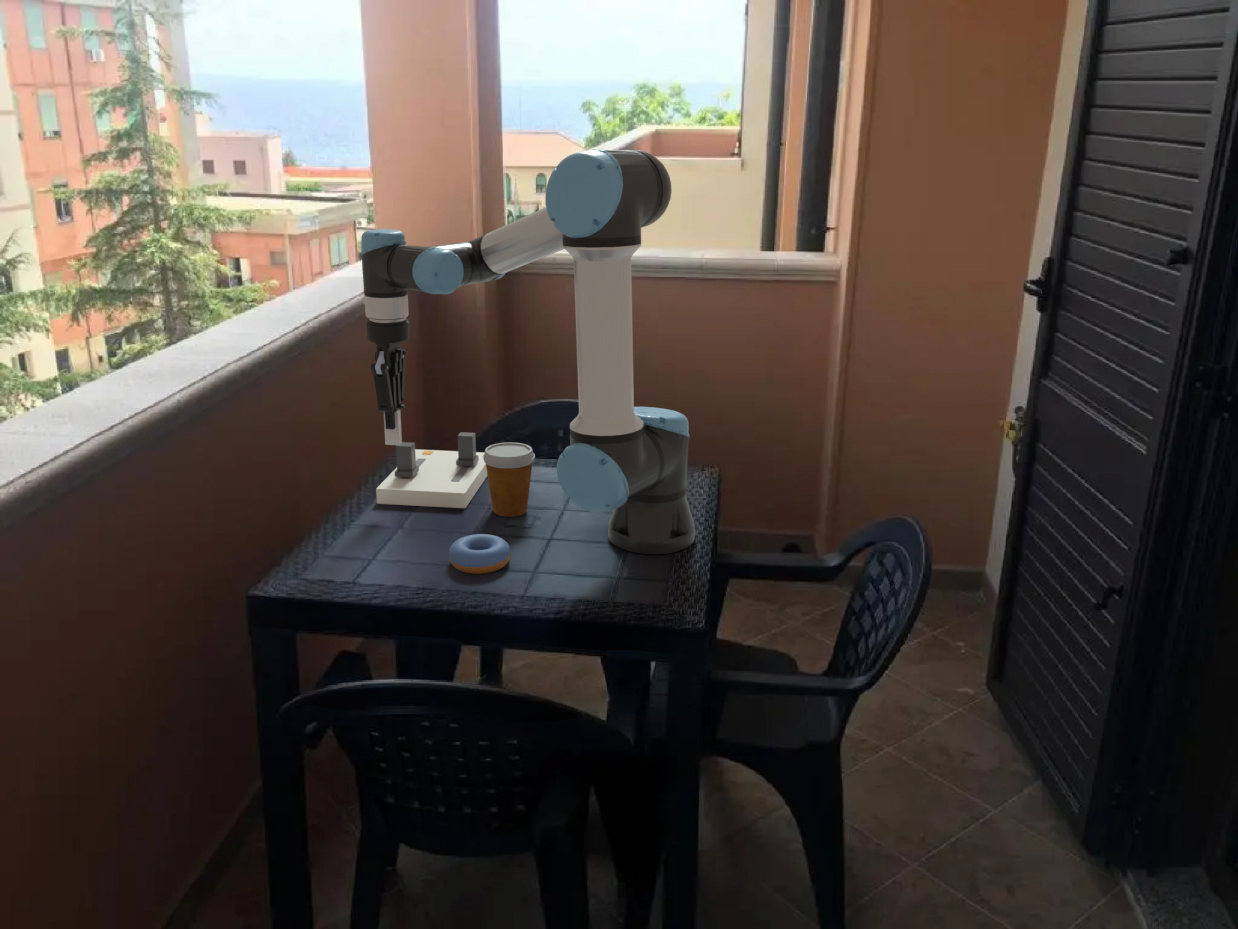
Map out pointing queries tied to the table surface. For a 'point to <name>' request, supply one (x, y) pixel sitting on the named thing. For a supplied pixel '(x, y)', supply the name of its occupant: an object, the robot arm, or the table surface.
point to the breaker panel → (434, 482)
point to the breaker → (466, 450)
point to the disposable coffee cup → (509, 477)
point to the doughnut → (479, 553)
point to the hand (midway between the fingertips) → (393, 443)
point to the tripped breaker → (406, 460)
